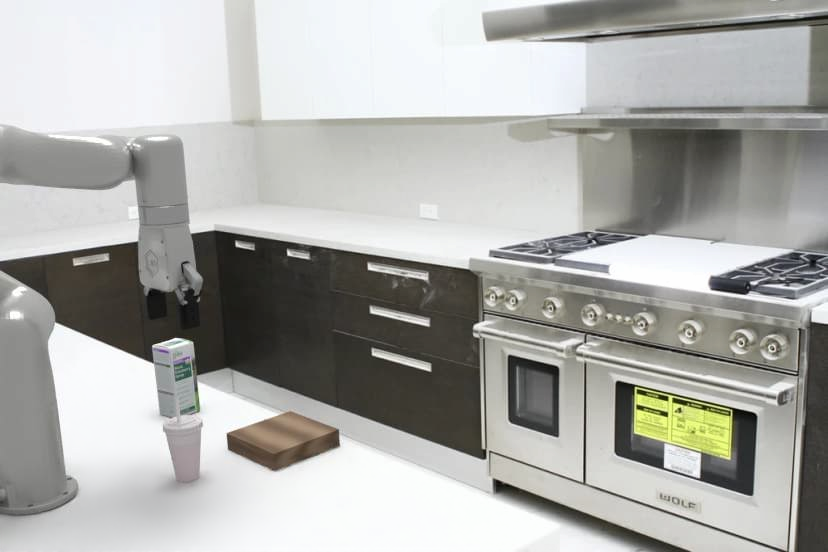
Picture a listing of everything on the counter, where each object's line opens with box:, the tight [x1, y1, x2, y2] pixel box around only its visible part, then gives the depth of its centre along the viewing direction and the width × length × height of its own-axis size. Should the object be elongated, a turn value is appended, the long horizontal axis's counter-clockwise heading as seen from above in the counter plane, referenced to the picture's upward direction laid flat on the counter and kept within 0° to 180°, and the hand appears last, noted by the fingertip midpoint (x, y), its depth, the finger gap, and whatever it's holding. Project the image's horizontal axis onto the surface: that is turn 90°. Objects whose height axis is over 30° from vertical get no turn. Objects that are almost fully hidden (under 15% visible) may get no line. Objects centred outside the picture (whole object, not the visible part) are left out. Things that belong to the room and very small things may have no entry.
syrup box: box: [151, 337, 201, 418], centre depth 175 cm, size 6×6×14 cm
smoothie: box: [162, 397, 204, 483], centre depth 145 cm, size 6×6×14 cm
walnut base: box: [226, 410, 341, 472], centre depth 157 cm, size 14×14×3 cm
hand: (173, 323), depth 141 cm, fingers open, 9 cm apart
